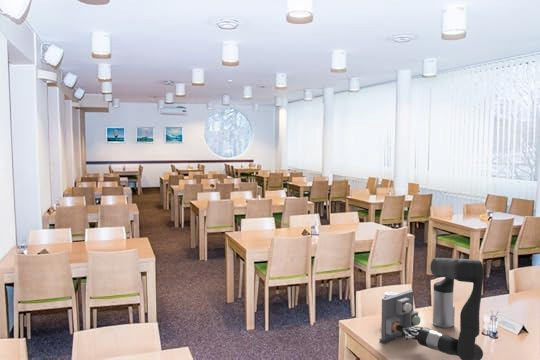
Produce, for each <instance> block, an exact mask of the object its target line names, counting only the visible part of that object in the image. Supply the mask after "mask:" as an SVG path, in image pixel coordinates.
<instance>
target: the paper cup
mask: <svg viewBox="0 0 540 360" xmlns="http://www.w3.org/2000/svg"><path fill="white" fill-rule="evenodd" d="M396 294H399V292H395V291H386V292H384V294H383V299H384V298H387V297H390V296H393V295H396Z"/></svg>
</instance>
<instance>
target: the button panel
mask: <svg viewBox="0 0 540 360" xmlns="http://www.w3.org/2000/svg"><path fill="white" fill-rule="evenodd" d="M404 302H406V303H410V304H411V305H412V309H411V311H410V312H409V313H408V312H405V311H403V310H402V305H403V303H404ZM413 315H416V316H419V311H417V310H414V290H407V291H406V290H405V291H403V292H400V293H398V294H396V295H393V296H390V297H387V298H384V297H383V298H382V299H381V330H380V331H381V334H380V335H381V337H379V343H381V344H383V345H387V344H389V343H391V342H393V341H396V340H399V339H400V338H404V337H403V336H402V332H400V331H398V332H395V331H393V330H392V324H393V322H397V323H399V324H400V325H401V326H404V327H409V326H416V327H417V325H415V324H412V323H411V317H412V316H413Z"/></svg>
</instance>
